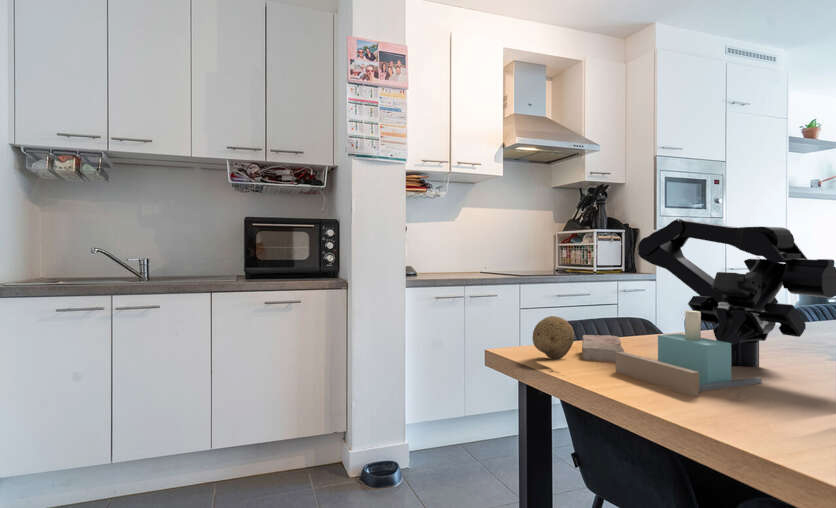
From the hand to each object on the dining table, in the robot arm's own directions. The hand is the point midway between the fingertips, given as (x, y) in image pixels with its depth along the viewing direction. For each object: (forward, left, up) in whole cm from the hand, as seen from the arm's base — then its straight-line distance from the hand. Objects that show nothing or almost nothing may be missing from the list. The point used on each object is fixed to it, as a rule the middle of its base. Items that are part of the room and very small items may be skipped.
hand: (719, 347), depth 83 cm
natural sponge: (+18, -25, -7) cm, 32 cm away
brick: (+7, -22, -7) cm, 24 cm away
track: (+7, 0, -7) cm, 10 cm away
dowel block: (+7, 0, -5) cm, 8 cm away
